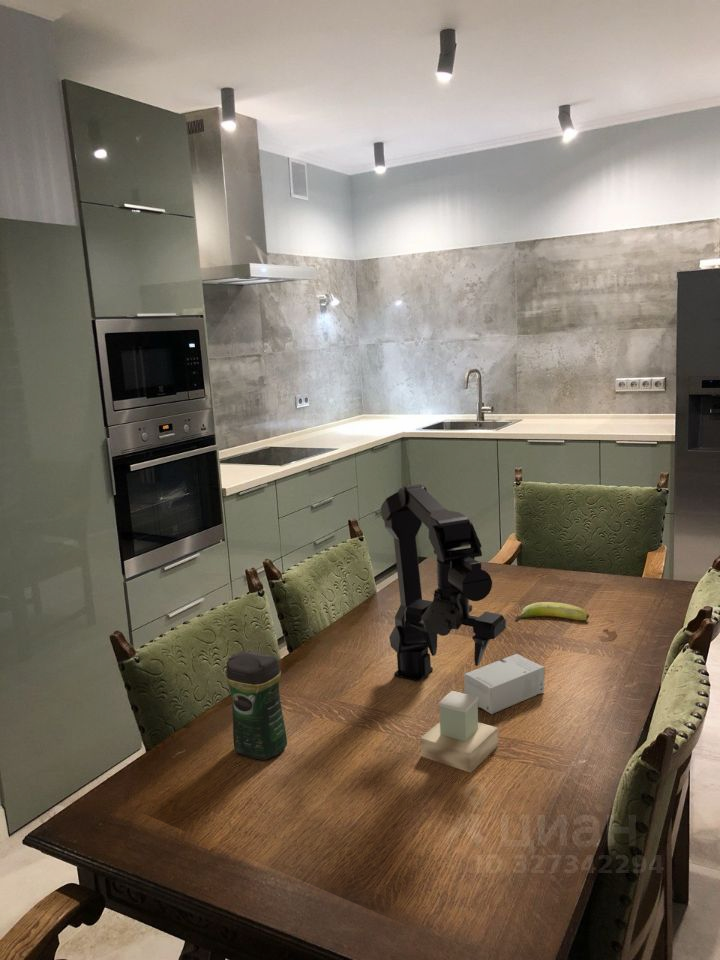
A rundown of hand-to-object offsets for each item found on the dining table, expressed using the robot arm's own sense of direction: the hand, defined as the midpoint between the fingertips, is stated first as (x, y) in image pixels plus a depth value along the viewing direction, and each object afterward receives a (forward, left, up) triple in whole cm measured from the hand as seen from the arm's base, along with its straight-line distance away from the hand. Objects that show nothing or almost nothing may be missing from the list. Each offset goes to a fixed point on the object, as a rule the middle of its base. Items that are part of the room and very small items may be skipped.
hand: (455, 660), depth 148 cm
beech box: (+5, -10, -13) cm, 17 cm away
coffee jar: (-28, -26, -13) cm, 40 cm away
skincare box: (+7, +20, -10) cm, 23 cm away
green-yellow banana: (-2, +57, -13) cm, 59 cm away
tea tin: (+5, -10, -9) cm, 14 cm away
